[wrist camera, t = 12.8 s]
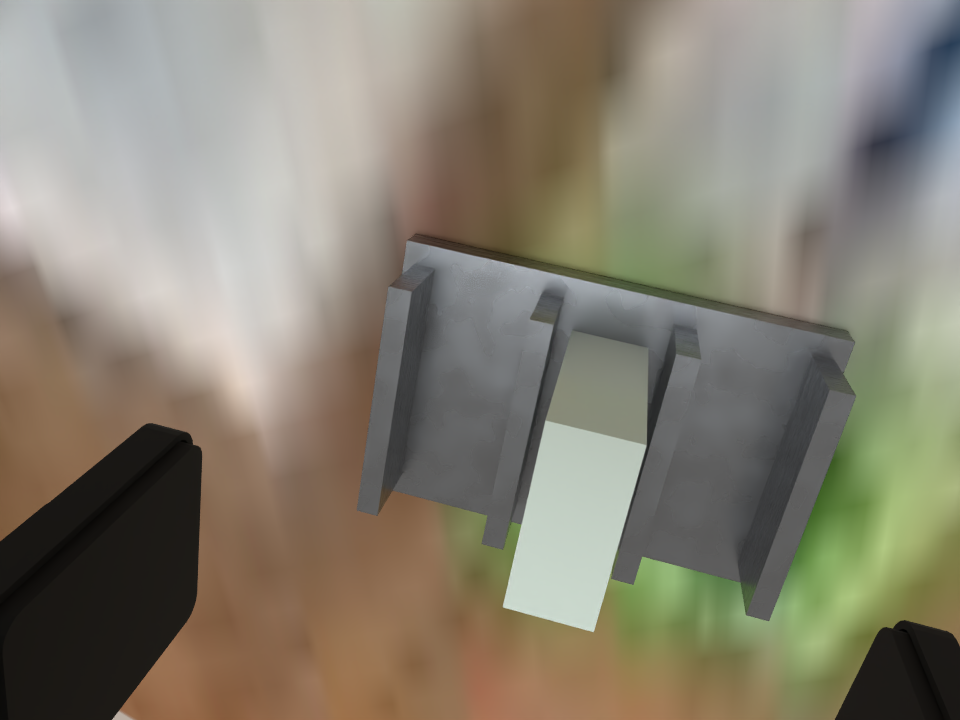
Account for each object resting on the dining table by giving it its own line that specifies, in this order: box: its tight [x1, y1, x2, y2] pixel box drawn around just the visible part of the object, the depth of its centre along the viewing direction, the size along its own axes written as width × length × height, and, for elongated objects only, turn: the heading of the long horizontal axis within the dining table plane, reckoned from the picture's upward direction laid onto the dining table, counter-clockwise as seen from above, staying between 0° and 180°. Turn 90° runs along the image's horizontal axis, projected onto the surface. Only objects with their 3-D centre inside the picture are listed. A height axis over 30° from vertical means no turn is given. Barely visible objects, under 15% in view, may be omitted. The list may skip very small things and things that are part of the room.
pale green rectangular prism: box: [503, 330, 648, 632], centre depth 34 cm, size 8×4×10 cm, turn 170°
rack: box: [357, 234, 856, 621], centre depth 38 cm, size 13×20×6 cm, turn 80°
